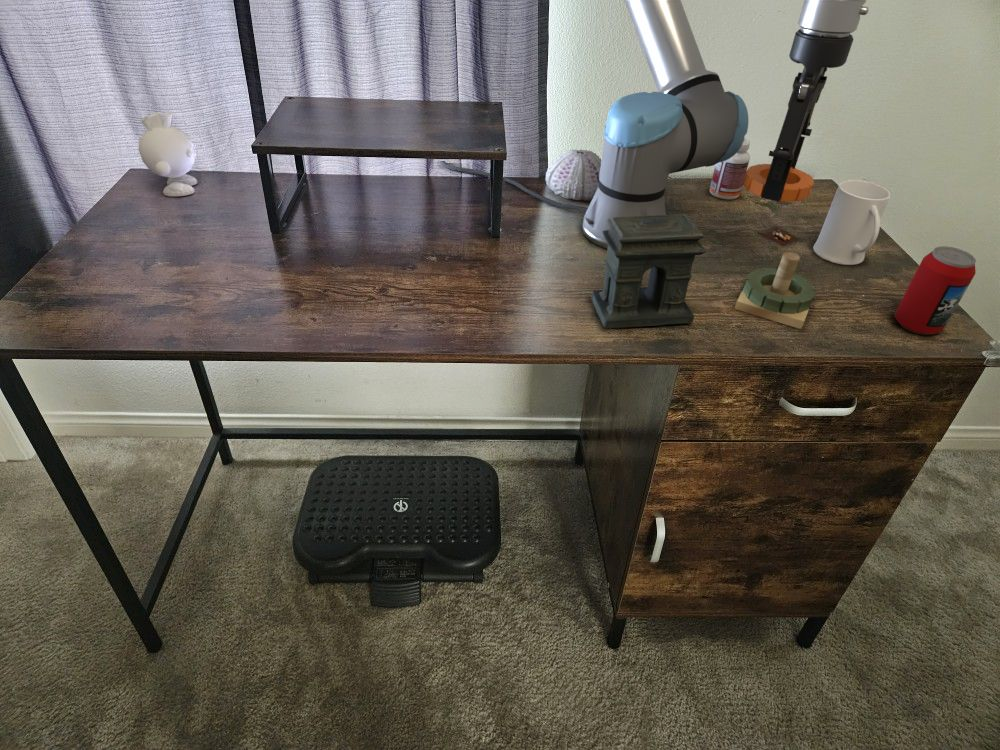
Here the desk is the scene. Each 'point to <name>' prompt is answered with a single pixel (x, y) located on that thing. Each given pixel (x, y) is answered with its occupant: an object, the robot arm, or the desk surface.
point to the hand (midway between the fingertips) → (777, 186)
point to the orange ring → (793, 190)
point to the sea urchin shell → (575, 174)
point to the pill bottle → (730, 174)
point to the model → (634, 252)
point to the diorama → (780, 237)
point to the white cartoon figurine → (168, 153)
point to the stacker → (778, 293)
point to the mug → (852, 222)
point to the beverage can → (936, 290)
